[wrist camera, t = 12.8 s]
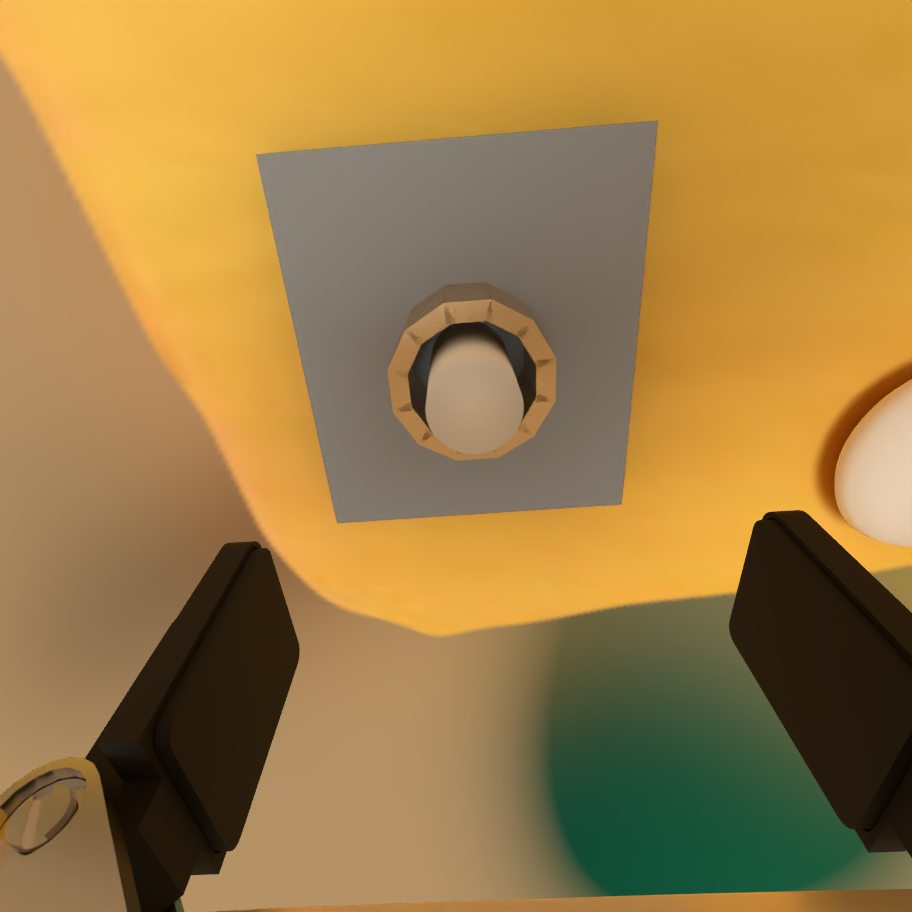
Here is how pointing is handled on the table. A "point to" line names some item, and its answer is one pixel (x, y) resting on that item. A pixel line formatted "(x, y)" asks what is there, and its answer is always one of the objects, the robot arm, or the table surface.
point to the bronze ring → (461, 308)
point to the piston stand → (473, 343)
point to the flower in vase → (879, 471)
